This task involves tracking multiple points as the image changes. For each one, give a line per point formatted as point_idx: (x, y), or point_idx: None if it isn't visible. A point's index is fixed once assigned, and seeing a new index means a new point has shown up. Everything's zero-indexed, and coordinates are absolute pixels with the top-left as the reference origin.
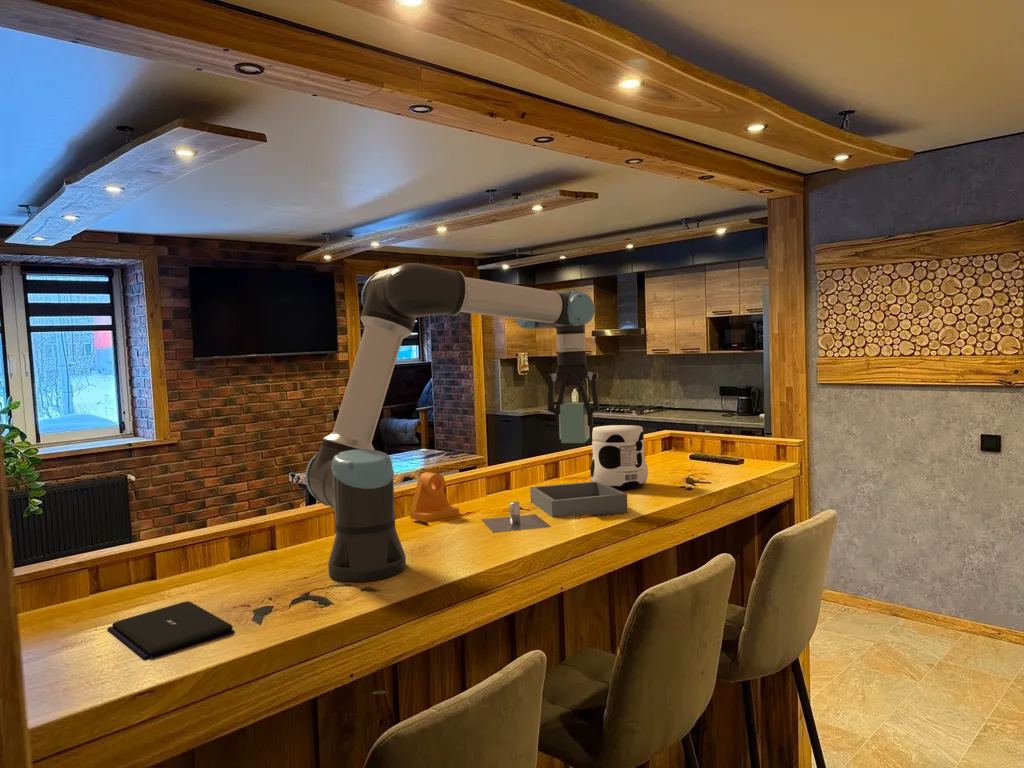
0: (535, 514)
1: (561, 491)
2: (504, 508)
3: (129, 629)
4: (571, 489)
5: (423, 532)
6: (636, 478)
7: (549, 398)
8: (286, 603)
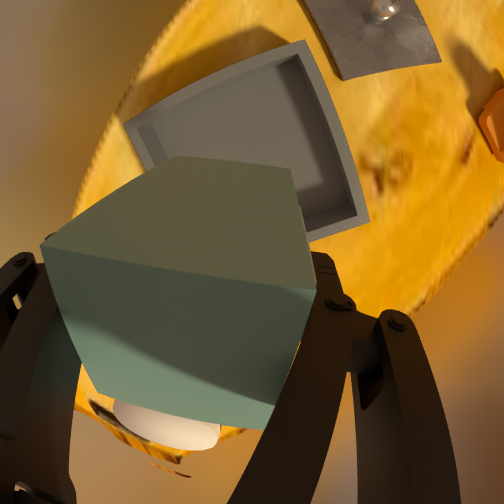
0: (343, 77)
1: None
2: (409, 183)
3: None
4: None
5: (497, 40)
6: None
7: (430, 410)
8: None
